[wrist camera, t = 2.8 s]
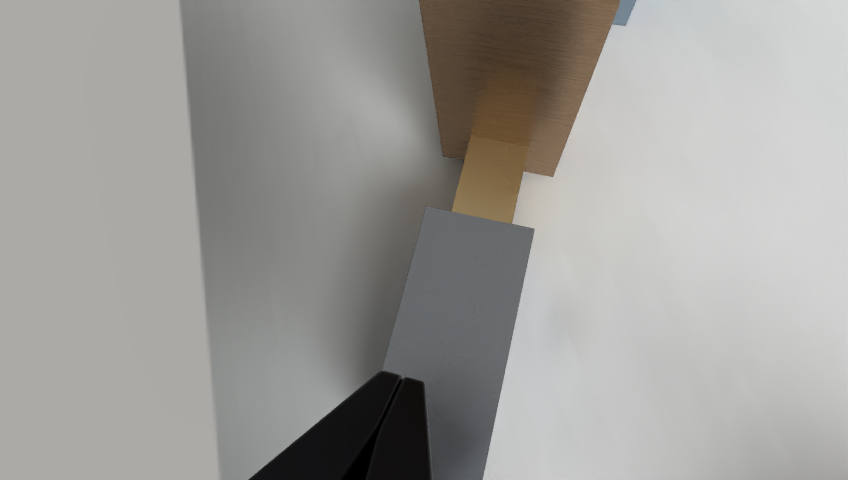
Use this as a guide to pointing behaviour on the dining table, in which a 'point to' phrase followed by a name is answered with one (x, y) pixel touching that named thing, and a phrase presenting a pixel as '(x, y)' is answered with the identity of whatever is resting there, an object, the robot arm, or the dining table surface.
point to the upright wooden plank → (509, 88)
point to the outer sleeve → (460, 330)
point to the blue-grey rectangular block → (624, 12)
